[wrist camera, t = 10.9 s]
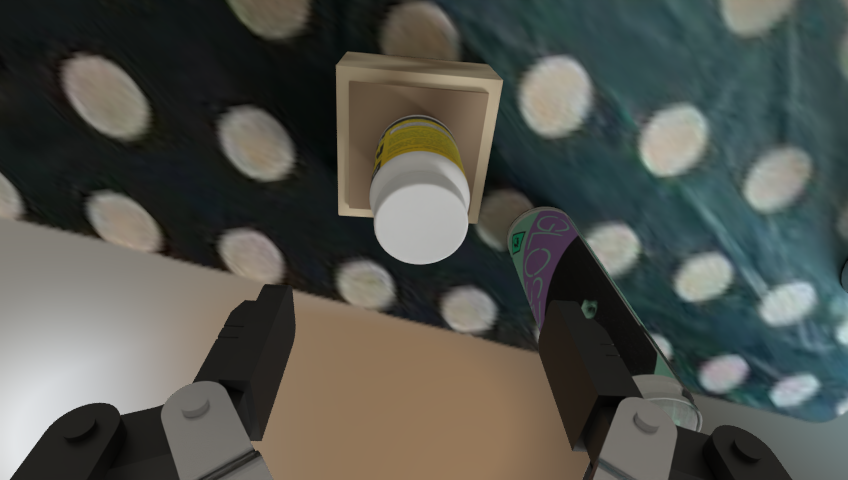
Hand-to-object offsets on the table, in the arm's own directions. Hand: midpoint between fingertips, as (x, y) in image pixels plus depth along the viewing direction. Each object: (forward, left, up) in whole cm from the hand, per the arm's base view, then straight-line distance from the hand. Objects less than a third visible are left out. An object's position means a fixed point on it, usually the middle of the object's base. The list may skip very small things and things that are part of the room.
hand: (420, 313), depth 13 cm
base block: (0, 0, -19) cm, 19 cm away
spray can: (-11, +8, -19) cm, 23 cm away
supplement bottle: (0, 0, -14) cm, 14 cm away
